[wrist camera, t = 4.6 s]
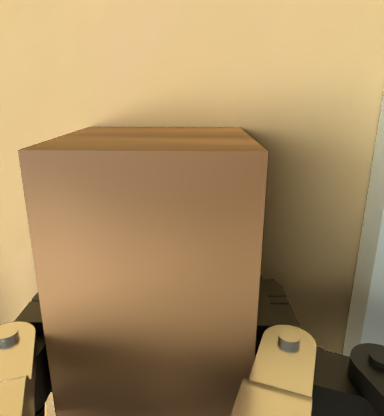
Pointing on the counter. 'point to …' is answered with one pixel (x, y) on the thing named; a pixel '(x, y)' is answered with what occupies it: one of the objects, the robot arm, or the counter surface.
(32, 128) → the counter surface
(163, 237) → the brown rectangular bar
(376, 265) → the jig
